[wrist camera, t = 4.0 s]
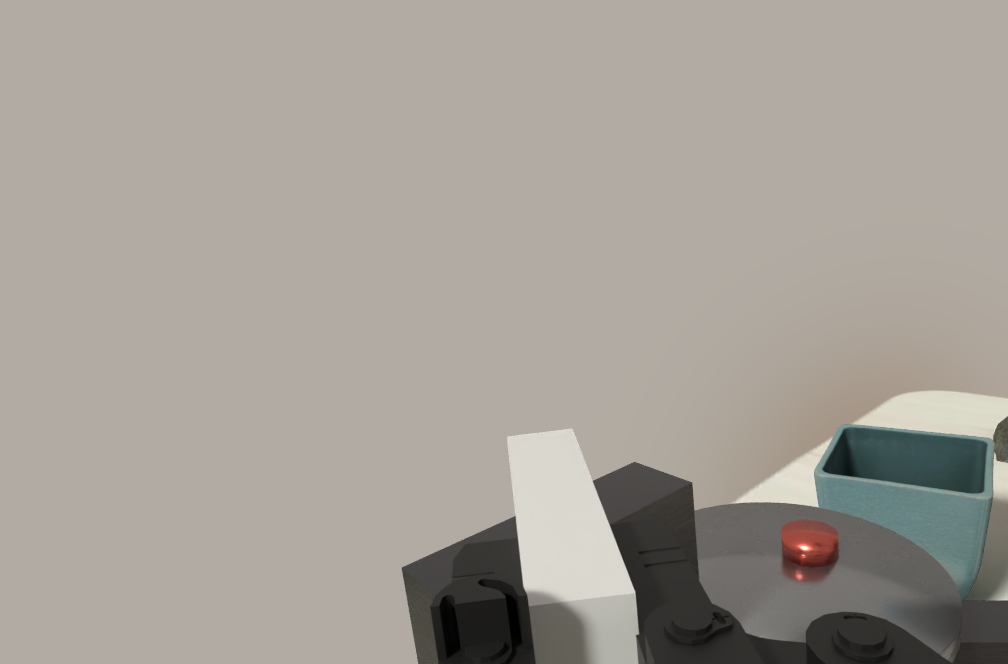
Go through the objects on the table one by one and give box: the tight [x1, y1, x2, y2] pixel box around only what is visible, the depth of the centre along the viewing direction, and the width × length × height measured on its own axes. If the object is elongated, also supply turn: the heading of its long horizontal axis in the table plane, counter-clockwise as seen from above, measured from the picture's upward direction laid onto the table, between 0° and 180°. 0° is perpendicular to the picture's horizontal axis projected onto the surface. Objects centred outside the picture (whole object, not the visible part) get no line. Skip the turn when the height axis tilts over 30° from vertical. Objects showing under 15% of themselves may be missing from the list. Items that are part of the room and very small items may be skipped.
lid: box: [402, 462, 962, 664], centre depth 28 cm, size 23×14×8 cm, turn 125°
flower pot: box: [814, 424, 995, 601], centre depth 43 cm, size 9×9×9 cm
